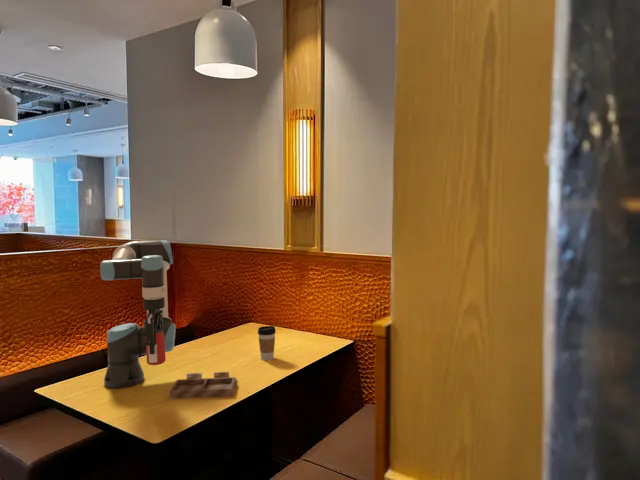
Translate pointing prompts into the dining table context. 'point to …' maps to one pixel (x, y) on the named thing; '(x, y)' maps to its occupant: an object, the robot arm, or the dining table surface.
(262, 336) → the coffee cup
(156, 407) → the dining table surface
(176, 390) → the brown desk organizer
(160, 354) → the beer can
